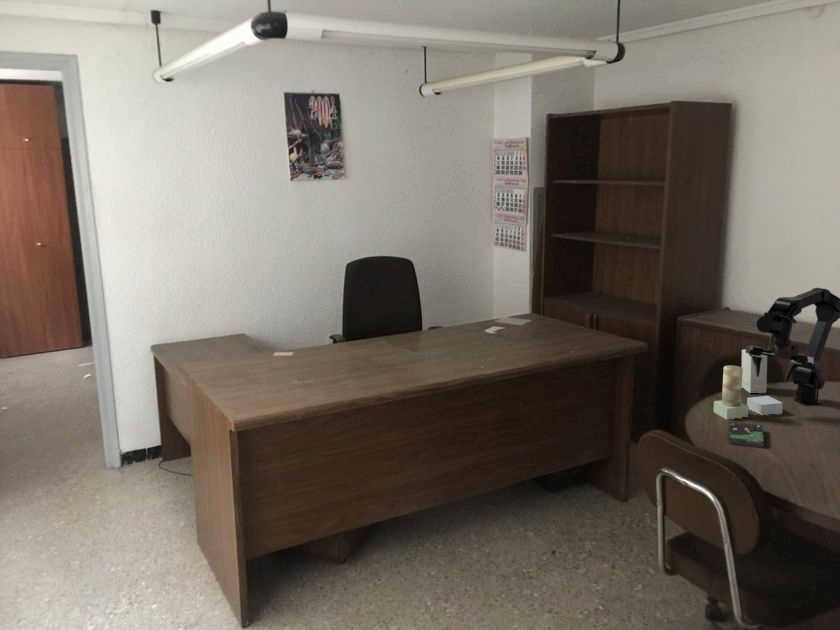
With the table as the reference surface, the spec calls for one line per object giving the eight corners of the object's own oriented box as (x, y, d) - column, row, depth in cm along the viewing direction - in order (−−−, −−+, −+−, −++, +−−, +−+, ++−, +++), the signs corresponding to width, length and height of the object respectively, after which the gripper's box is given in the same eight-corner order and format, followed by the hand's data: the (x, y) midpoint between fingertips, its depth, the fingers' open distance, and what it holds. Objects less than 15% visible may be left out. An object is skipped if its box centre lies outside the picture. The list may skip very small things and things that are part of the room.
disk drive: (728, 429, 236) (727, 445, 222) (728, 421, 235) (728, 436, 222) (762, 432, 232) (764, 449, 218) (763, 424, 231) (764, 440, 218)
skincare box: (766, 393, 267) (768, 353, 263) (748, 394, 267) (751, 354, 264) (756, 386, 275) (758, 348, 272) (739, 387, 275) (741, 348, 272)
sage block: (734, 409, 251) (734, 399, 251) (748, 417, 244) (748, 406, 243) (713, 412, 250) (713, 401, 249) (726, 419, 242) (727, 408, 242)
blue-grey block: (767, 406, 253) (767, 395, 253) (782, 413, 246) (782, 402, 245) (746, 408, 252) (747, 397, 251) (761, 416, 244) (761, 405, 244)
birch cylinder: (739, 401, 248) (741, 365, 245) (741, 407, 242) (743, 370, 240) (721, 400, 250) (722, 365, 247) (722, 406, 244) (724, 369, 242)
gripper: (758, 332, 236) (749, 377, 237) (818, 342, 232) (808, 388, 234) (749, 329, 247) (740, 372, 248) (806, 338, 243) (797, 382, 245)
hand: (771, 379), depth 243 cm, fingers open, 9 cm apart
